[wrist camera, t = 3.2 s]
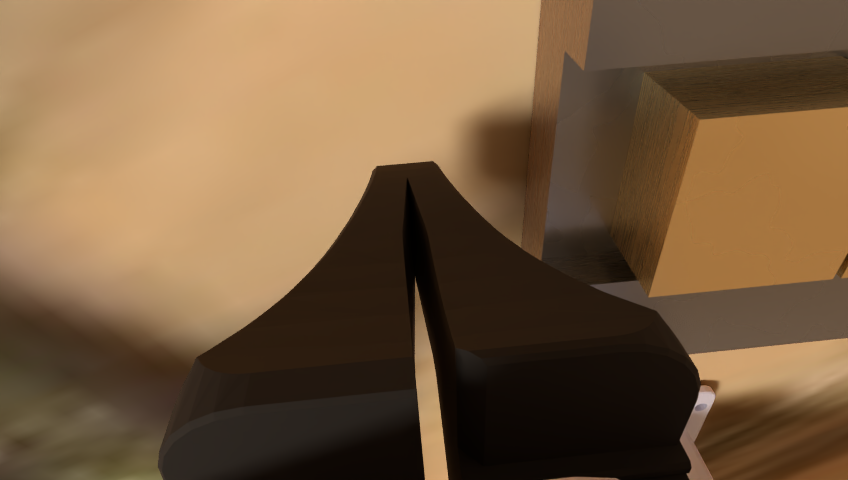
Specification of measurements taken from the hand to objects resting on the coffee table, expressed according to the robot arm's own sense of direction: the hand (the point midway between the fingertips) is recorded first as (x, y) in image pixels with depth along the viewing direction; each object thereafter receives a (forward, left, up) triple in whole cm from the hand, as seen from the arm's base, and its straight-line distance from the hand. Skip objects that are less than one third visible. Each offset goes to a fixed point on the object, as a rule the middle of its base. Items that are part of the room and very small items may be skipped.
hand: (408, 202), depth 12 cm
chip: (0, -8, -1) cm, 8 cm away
